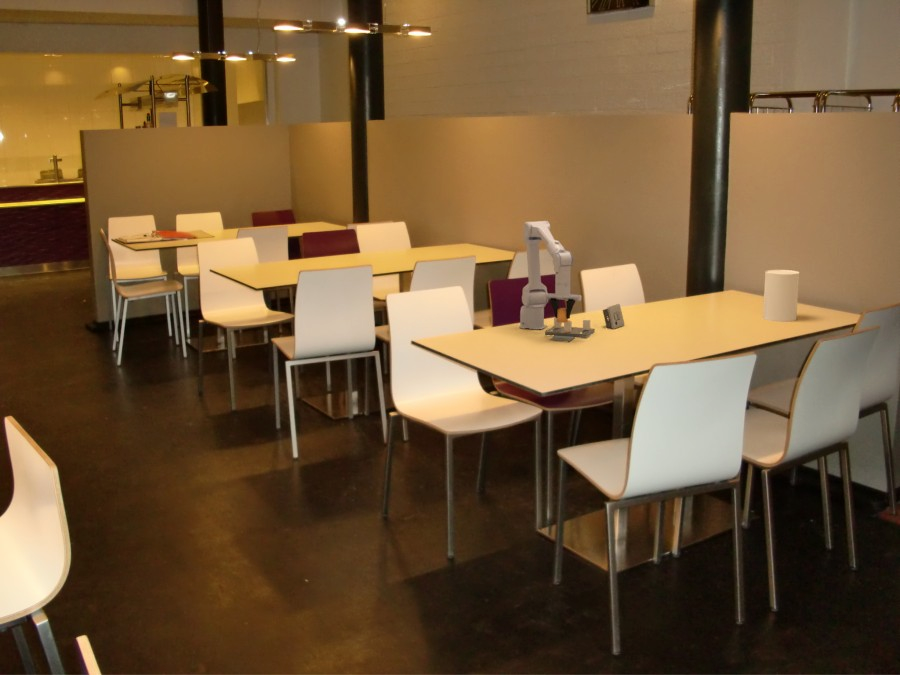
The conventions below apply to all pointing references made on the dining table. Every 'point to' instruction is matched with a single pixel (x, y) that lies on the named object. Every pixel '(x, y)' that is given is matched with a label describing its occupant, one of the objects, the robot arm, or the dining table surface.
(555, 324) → the block
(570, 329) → the block
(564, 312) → the cap
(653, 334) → the dining table surface
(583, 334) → the panel
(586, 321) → the block
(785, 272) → the canister
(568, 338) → the mat
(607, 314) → the electrical switch
